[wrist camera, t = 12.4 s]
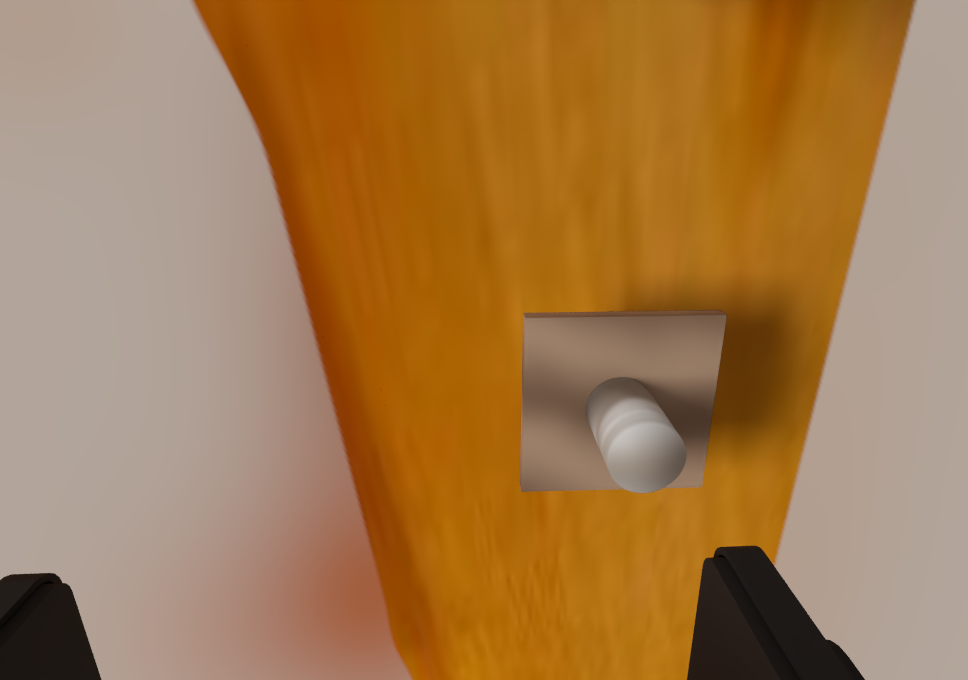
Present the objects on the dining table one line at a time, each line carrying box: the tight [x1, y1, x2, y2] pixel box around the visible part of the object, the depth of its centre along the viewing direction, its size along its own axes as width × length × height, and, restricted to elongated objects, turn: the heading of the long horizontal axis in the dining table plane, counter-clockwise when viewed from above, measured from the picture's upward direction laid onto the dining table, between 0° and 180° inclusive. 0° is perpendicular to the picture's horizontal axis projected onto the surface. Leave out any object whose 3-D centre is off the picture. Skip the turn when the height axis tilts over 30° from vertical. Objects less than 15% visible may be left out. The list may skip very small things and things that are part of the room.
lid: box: [520, 310, 727, 493], centre depth 29 cm, size 10×10×6 cm
